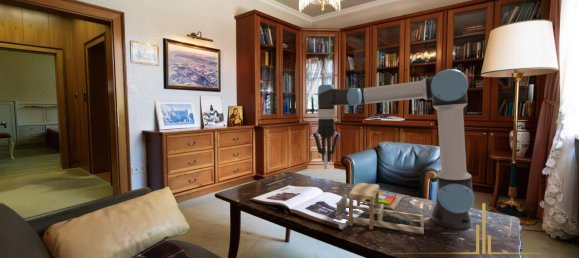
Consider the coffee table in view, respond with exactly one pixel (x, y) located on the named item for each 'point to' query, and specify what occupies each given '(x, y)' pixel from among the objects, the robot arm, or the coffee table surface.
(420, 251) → the coffee table surface
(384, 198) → the wooden puzzle
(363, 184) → the stool
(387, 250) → the coffee table surface
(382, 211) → the sled
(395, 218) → the rock
